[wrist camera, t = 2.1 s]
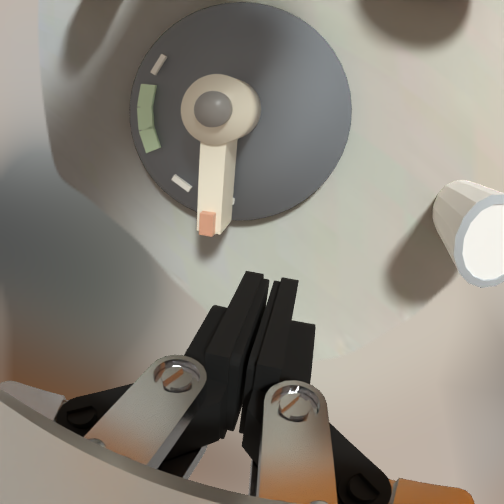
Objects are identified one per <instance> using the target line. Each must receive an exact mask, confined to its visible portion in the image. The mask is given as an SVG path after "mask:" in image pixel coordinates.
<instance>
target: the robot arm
mask: <svg viewBox="0 0 504 504" xmlns="http://www.w3.org/2000/svg"><path fill="white" fill-rule="evenodd" d="M263 278H264V275H263V274H260V273H255V272H250V271H246V272H245V274H244V276H243V278H242V280H241V282H240V284H239V286H238V288H237V290H236V292H235V294H234V296H233V298H232V300H231V302H230V304H229V306H228V308H226V307H221V306H217V305H214V306H213V307H212V308H211V309H210V311H209V313H208V315H207V317H206V318H205V320H204V322H203V324H202V325H201V327H200V329H199V330H198V332H197V334H196V335H195V337H194V339H193V341H192V342H191V344H190V346H189V348H188V349H187V351H186V353H185V355H184V356H183V355H171V356H165V357H163V358H160V359H158V360H156V361H155V362H154V363H153V364H152V365H151V366H150V367H149V368H148V369H147V370H146V371H145V372H144V373H143V374H142V375H141V376H140V377H139V378H138V379H137V381H136V382H135V383H133V384H129V385H125V386H121V387H117V388H114V389H110V390H106V391H101V392H97V393H93V394H88V395H84V396H80V397H76V398H73V399H70V400H69V401H68V400H66V399H65V397H64V396H62V395H58V394H55V393H51V392H47V391H44V390H41V389H37V388H34V387H31V386H27V385H24V384H21V383H18V382H14V381H6V382H2V383H0V504H474V500H473V498H472V496H471V495H470V494H469V493H468V492H467V491H466V490H463V489H460V488H455V487H448V486H441V485H434V484H428V483H422V482H417V481H412V480H406V479H402V478H399V479H398V480H397V481H395V480H390V479H388V478H387V476H386V475H385V474H384V473H383V472H382V471H381V470H380V469H379V468H378V467H377V466H376V465H374V464H373V463H372V462H371V461H370V460H369V459H368V458H367V457H365V456H364V455H363V454H362V453H361V452H360V451H359V450H358V449H357V448H356V447H355V446H354V445H353V444H351V443H350V442H349V441H348V440H347V439H346V438H345V437H344V436H343V435H342V434H341V433H340V432H339V431H338V430H336V428H335V427H334V426H332V425H331V424H330V423H329V417H328V410H327V403H326V400H325V397H324V396H323V394H322V393H321V392H320V391H319V390H318V389H317V388H315V387H314V386H313V385H310V379H311V370H312V360H313V350H314V338H315V324H309V323H304V322H298V321H292V314H293V309H294V304H295V298H296V293H297V287H298V281H299V280H294V279H288V278H281V282H279V281H274V283H273V286H272V289H271V292H270V296H269V299H268V302H267V305H266V301H267V294H268V287H269V280H268V279H263ZM242 404H243V405H242ZM241 408H242V413H241V421H240V429H239V432H240V433H243V434H244V435H243V441H242V447H243V448H244V449H245V451H246V452H247V453H248V454H249V456H250V457H251V458H252V461H251V471H250V483H249V495H245V494H240V493H236V492H231V491H227V490H223V489H219V488H215V487H212V486H208V485H204V484H201V483H197V482H194V481H191V480H188V478H189V477H190V475H191V474H192V472H193V470H194V469H195V467H196V466H197V464H198V463H199V461H200V459H201V458H202V456H203V454H204V453H205V451H206V448H207V445H208V444H211V443H213V442H216V441H218V440H219V439H220V438H221V439H224V437H225V434H226V432H227V430H230V431H234V429H235V426H236V423H237V420H238V417H239V414H240V411H241Z"/></svg>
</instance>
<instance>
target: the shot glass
mask: <svg viewBox="0 0 504 504" xmlns="http://www.w3.org/2000/svg"><path fill="white" fill-rule="evenodd" d="M433 222H434V225H435V228H436V230H437V232H438V234H439V236H440V238H441V239H442V241H443V243H444V245H445V247H446V249H447V251H448V253H449V255H450V256H451V258H452V260H453V262H454V264H455V266H456V268H457V270H458V272H459V273H460V274H461V276H462V277H463V278H464V279H465V280H466V281H467V282H468V283H470V284H472V285H475V286H478V287H480V288H483V287H492V286H496V285H498V284H500V283H502V282H504V193H502V192H500V191H497V190H494V189H491V188H489V187H486V186H483V185H480V184H477V183H474V182H471V181H468V180H455V181H453V182H451V183H449V184H447V185H445V187H444V188H443V189H442V190H441V191H440V192H439V193H438V195H437V197H436V200H435V202H434V205H433Z"/></svg>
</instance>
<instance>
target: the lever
mask: <svg viewBox="0 0 504 504" xmlns="http://www.w3.org/2000/svg"><path fill="white" fill-rule="evenodd" d="M260 115H261V103H260V99H259V96H258V94H257V93H256V91H255V90H254V89H253V88H252V87H251V86H250V85H249V84H247V83H246V82H244V81H241V80H238V79H236V78H233V77H230V76H227V75H223V74H211V75H207V76H204V77H201V78H199V79H198V80H196V81H195V82H194V83H193V84H192V85H191V86H190V87H189V88H188V89H187V91H186V92H185V94H184V97H183V99H182V103H181V117H182V121H183V124H184V126H185V128H186V129H187V131H188V132H189V133H190V134H191V135H192V136H193V137H194V138H195V139H197V140H199V141H201V142H200V160H199V180H198V207H197V231H199V235H205V236H211V237H213V235H214V234H221V233H222V232H223V231H224V229H225V228H226V227H227V226H228V224H229V223H230V222H231V218H232V204H233V191H234V178H235V165H236V153H237V141H238V139H239V138H241V137H244V136H246V135H247V134H249V133H250V132H251V131H252V130H253V129H254V128H255V126H256V125H257V123H258V121H259V119H260Z"/></svg>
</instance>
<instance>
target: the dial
mask: <svg viewBox="0 0 504 504" xmlns="http://www.w3.org/2000/svg"><path fill="white" fill-rule="evenodd" d="M211 74H223V75H227V76H230V77H233V78H236V79H238V80H241V81H244V82H246V83H247V84H249V85H250V86H251V87H252V88H253V89H254V90H255V91H256V93H257V94H258V96H259V99H260V103H261V115H260V119H259V121H258V123H257V125H256V126H255V128H254V129H253V130H252V131H251V132H250V133H249V134H247V135H246V136H244V137H241V138H239V139H238V141H237V153H236V165H235V178H234V191H233V204H232V218H231V220H253V219H259V218H265V217H268V216H272V215H275V214H279V213H281V212H283V211H285V210H288V209H290V208H292V207H294V206H295V205H297V204H299V203H300V202H302V201H304V200H305V199H306V198H308V197H309V196H310V195H311V194H312V193H314V192H315V191H316V190H317V189H318V188H319V187H320V186H321V185H322V184H323V183H324V182H325V181H326V180H327V178H328V177H329V175H330V174H331V173H332V171H333V170H334V169H335V167H336V165H337V163H338V161H339V159H340V158H341V156H342V154H343V151H344V148H345V145H346V143H347V140H348V135H349V131H350V126H351V113H352V106H351V94H350V89H349V85H348V81H347V77H346V75H345V72H344V70H343V67H342V65H341V63H340V61H339V59H338V57H337V56H336V54H335V52H334V50H333V49H332V48H331V46H330V45H329V44H328V43H327V41H326V40H325V39H324V38H323V37H322V36H321V35H320V34H319V33H318V32H317V31H316V30H315V29H314V28H313V27H311V26H310V25H309V24H307V23H306V22H304V21H303V20H301V19H300V18H298V17H296V16H294V15H292V14H290V13H288V12H286V11H284V10H281V9H278V8H275V7H272V6H268V5H263V4H258V3H246V2H237V3H225V4H220V5H215V6H211V7H208V8H205V9H202V10H199V11H197V12H195V13H193V14H191V15H189V16H187V17H185V18H183V19H182V20H180V21H179V22H177V23H176V24H174V25H173V26H172V27H170V28H169V29H168V30H167V31H166V32H165V33H164V34H162V35H161V37H160V38H159V39H158V40H157V41H156V42H155V43H154V44H153V46H152V47H151V49H150V50H149V51H148V53H147V54H146V56H145V58H144V59H143V61H142V63H141V65H140V67H139V69H138V72H137V75H136V77H135V80H134V84H133V88H132V92H131V100H130V125H131V132H132V136H133V140H134V144H135V147H136V149H137V152H138V154H139V157H140V159H141V161H142V163H143V164H144V166H145V168H146V170H147V171H148V173H149V174H150V175H151V177H152V178H153V179H154V181H155V182H156V183H157V184H158V185H159V186H160V187H161V188H162V189H163V190H164V191H165V192H166V193H167V194H168V195H170V196H171V197H172V198H173V199H175V200H176V201H178V202H179V203H181V204H182V205H184V206H186V207H188V208H190V209H192V210H194V211H196V212H197V207H198V180H199V160H200V142H201V141H199V140H197V139H195V138H194V137H193V136H192V135H191V134H190V133H189V132H188V131H187V129H186V128H185V126H184V124H183V121H182V117H181V103H182V99H183V97H184V94H185V92H186V91H187V89H188V88H189V87H190V86H191V85H192V84H193V83H194V82H195V81H196V80H198V79H199V78H201V77H204V76H207V75H211Z"/></svg>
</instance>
